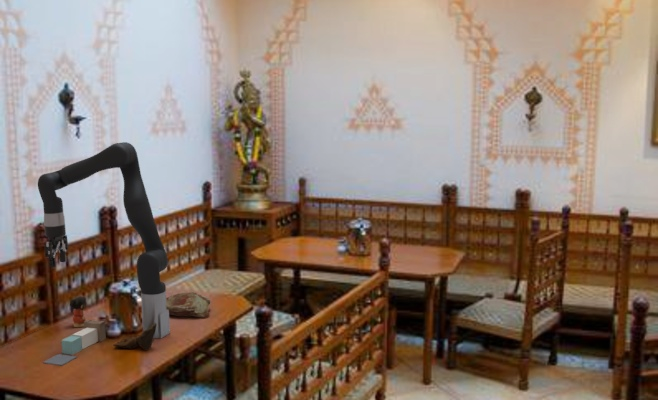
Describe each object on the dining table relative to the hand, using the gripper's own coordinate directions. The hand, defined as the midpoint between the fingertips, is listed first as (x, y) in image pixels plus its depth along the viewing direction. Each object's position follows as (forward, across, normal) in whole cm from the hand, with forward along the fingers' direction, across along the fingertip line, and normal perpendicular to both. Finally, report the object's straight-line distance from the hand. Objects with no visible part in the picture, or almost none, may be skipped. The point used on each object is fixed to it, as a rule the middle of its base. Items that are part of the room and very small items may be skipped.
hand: (58, 264), depth 281 cm
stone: (+27, +23, -43) cm, 56 cm away
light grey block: (+26, -16, -17) cm, 35 cm away
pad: (+26, -33, -15) cm, 44 cm away
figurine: (+26, +4, -5) cm, 27 cm away
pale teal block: (+26, -24, -15) cm, 39 cm away
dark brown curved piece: (+27, -19, -37) cm, 50 cm away
